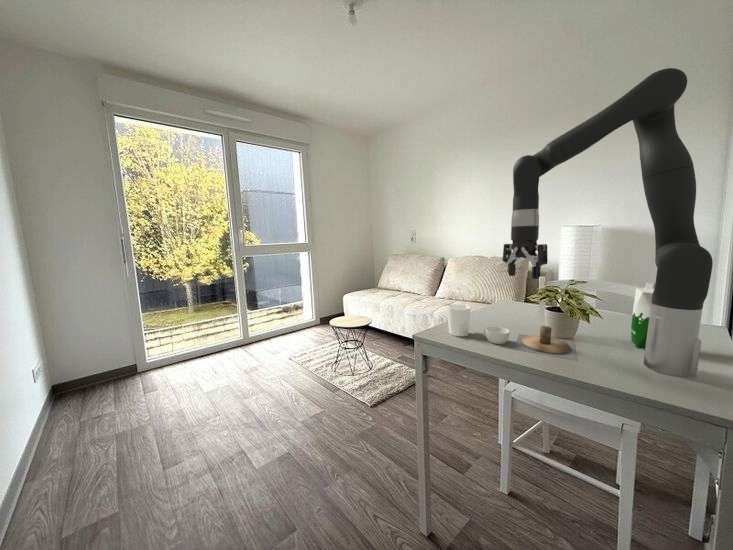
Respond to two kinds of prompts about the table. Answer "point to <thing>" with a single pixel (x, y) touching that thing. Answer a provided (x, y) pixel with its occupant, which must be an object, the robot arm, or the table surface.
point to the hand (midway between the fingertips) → (523, 277)
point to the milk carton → (641, 316)
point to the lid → (545, 342)
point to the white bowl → (496, 334)
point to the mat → (568, 355)
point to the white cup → (458, 319)
